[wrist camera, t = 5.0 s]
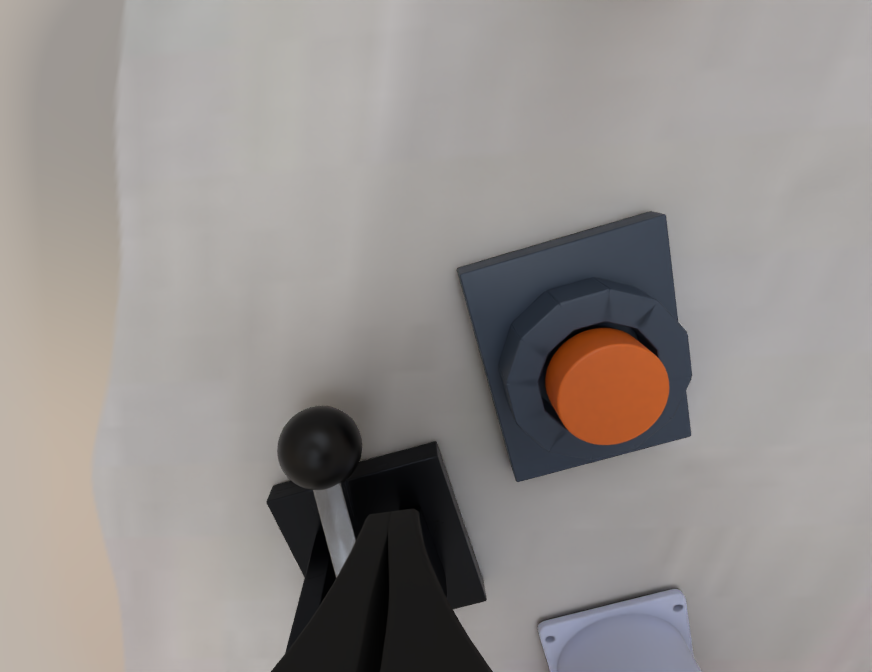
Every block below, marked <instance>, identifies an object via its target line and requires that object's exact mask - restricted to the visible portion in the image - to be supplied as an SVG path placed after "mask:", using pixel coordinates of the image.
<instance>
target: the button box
mask: <svg viewBox="0 0 872 672" xmlns="http://www.w3.org/2000/svg"><path fill="white" fill-rule="evenodd" d="M457 272H458V276H459V279H460V283H461V287H462V290H463V294H464V297H465V301H466V305H467V308H468V312H469V315H470V319H471V323H472V326H473V330H474V333H475V337H476V341H477V344H478V348H479V352H480V355H481V359H482V362H483V366H484V370H485V373H486V377H487V380H488V384H489V388H490V391H491V395H492V398H493V402H494V406H495V409H496V413H497V416H498V420H499V424H500V427H501V431H502V434H503V438H504V442H505V445H506V449H507V452H508V456H509V460H510V463H511V467H512V470H513V473H514V476H515V479H516V481H517V482H520V481H524V480H528V479H531V478H535V477H539V476H543V475H547V474H550V473H554V472H558V471H562V470H565V469H569V468H573V467H577V466H580V465H584V464H588V463H592V462H596V461H599V460H603V459H607V458H611V457H614V456H618V455H622V454H626V453H629V452H633V451H637V450H641V449H645V448H648V447H652V446H656V445H660V444H663V443H667V442H671V441H675V440H678V439H682V438H686V437H690V436H691V429H690V420H689V412H688V403H687V394H686V389H687V387H688V385H689V383H690V381H691V377H692V370H691V361H690V352H689V342H688V335H687V332H686V330H685V329H684V328H683V327H682V326H681V325H680V324H679V323H678V316H677V307H676V299H675V290H674V281H673V273H672V264H671V255H670V247H669V238H668V229H667V221H666V215H665V214H661V213H656V212H652V211H650V212H647V213H643V214H640V215H637V216H633V217H630V218H626V219H623V220H620V221H616V222H613V223H609V224H606V225H603V226H599V227H596V228H592V229H589V230H586V231H582V232H579V233H575V234H572V235H569V236H565V237H562V238H558V239H555V240H551V241H548V242H545V243H541V244H538V245H534V246H531V247H528V248H524V249H521V250H517V251H514V252H511V253H507V254H504V255H500V256H497V257H494V258H490V259H487V260H483V261H480V262H477V263H473V264H470V265H466V266H463V267H460V268H458V269H457ZM595 328H613V329H618V330H621V331H624V332H626V333H628V334H630V335H631V336H633V337H634V338H635V339H636V340H638V341H639V342H640V343H641V344H643V345H644V346H645V347H646V348H647V349H649V350H650V351H651V352H652V353H654V354H655V355H656V356H657V357H658V358H659V359H660V361H661V362H662V363H663V365H664V367H665V369H666V371H667V374H668V379H669V396H668V400H667V403H666V406H665V408H664V410H663V412H662V414H661V415H660V417H659V418H658V420H657V421H656V422H655V423H654V424H653V425H652V426H651V427H650V428H649V429H648V430H647V431H645V432H644V433H642V434H641V435H639V436H638V437H636V438H634V439H631V440H629V441H626V442H623V443H619V444H614V445H597V444H592V443H588V442H585V441H583V440H580V439H579V438H577V437H575V436H574V435H573V434H571V433H570V432H569V431H568V430H567V429H566V428H565V426H564V425H563V423H562V422H561V420H560V418H559V416H558V415H557V413H556V411H555V409H554V407H553V406H552V404H551V402H550V400H549V398H548V395H547V392H546V387H545V377H546V371H547V368H548V365H549V363H550V360H551V358H552V357H553V355H554V354H555V352H556V351H557V350H558V348H559V347H560V346H561V345H562V344H563V343H565V342H566V341H567V340H568V339H570V338H571V337H573V336H575V335H577V334H579V333H581V332H584V331H586V330H590V329H595Z"/></svg>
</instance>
